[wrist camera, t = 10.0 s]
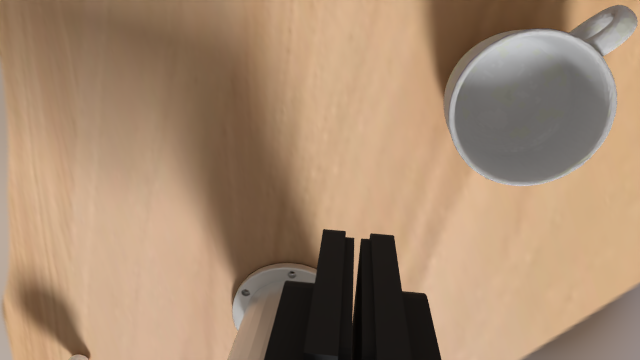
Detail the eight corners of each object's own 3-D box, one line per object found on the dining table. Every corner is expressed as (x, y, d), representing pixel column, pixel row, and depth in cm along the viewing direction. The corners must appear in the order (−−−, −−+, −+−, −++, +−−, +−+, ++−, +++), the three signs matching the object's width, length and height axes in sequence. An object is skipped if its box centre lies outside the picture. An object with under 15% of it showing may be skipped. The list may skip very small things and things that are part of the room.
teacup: (474, 174, 40) (501, 214, 32) (407, 78, 37) (419, 97, 30) (626, 80, 36) (696, 101, 28) (563, -36, 33) (622, -46, 25)
